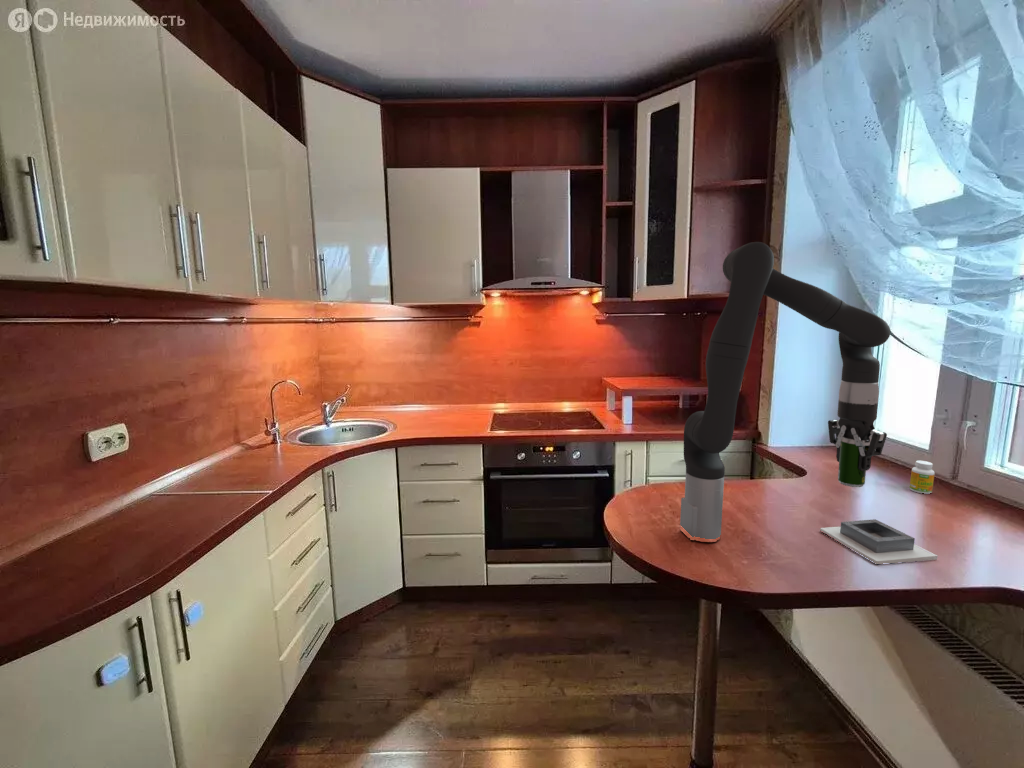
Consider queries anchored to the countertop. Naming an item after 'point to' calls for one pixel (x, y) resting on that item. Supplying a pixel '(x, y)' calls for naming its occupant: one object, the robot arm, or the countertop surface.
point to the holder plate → (881, 558)
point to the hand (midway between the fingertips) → (852, 465)
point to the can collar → (891, 537)
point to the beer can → (850, 464)
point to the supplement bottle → (922, 477)
